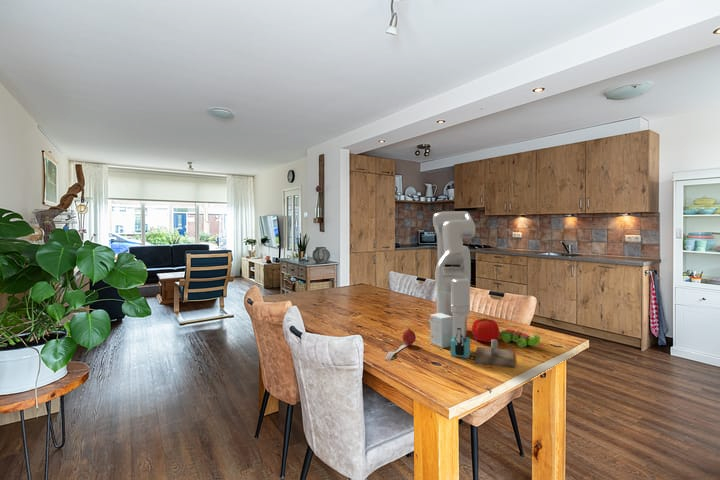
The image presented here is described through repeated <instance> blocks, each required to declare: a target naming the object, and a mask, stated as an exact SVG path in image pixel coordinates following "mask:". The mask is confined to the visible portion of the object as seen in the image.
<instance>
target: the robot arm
mask: <svg viewBox="0 0 720 480" xmlns="http://www.w3.org/2000/svg"><path fill="white" fill-rule="evenodd" d="M432 226H433V228H434V231H435V233H436V240H437V263H436V265H435V271H434V280H435V286H436V287H435V289H436V314H437V313H443V314H446V315H449V316H452V317H453V335H452V337H453V338H454V337H456V345H455V354H456V355H464V345H463V339H464V338H465V337H466V335H467V328H468V315H469V314H471V295H470V294H471V274H472V273H471V271H472V270H471V251H470V248H469V247H468V246H467V245H463V239H472V238H474V236H475V235H476V224H475V223H474V220H473V218H472V217H471V215H470V213H469V212H468V211H464V210H463V211H462V210H461V211H459V210H458V211H456V210H455V211H438V212H436V213H434V214H433V215H432ZM444 265H459V266H444ZM428 323H429V324H430V318H428ZM461 339H462V341H461Z"/></svg>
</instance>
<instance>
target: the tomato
mask: <svg viewBox="0 0 720 480" xmlns="http://www.w3.org/2000/svg"><path fill="white" fill-rule="evenodd" d="M499 330H500V328H499V325H498V322H496V321H495V320H494V319H491V318H489V319H488V317H487V318H478V319H476V320H474V321H473V323H472V325H471V333H472V335H473V337H474V338H475V340H477V341H479V342H482V343H491V340H492V339H495V340H498V338H499V337H498V336H499Z"/></svg>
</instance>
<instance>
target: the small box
mask: <svg viewBox="0 0 720 480" xmlns="http://www.w3.org/2000/svg"><path fill="white" fill-rule="evenodd" d="M429 316H430V318H429V319H430V323H429V324H430V327H429V328H430V332H429V333H430V334H429V335H430V344H432V345H435V346H436V347H439V348H441V349H444V348H448V347H451V339H452V335H453V317H452V316H449V315H446V314H443V313H437V312H436V313H432V314H430V315H429Z"/></svg>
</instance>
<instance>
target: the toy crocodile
mask: <svg viewBox="0 0 720 480" xmlns="http://www.w3.org/2000/svg"><path fill="white" fill-rule="evenodd" d="M498 338H501V339H502V341H503V343H510V342H511V341H512V342H515V343H516V344H517V346H518V347H519V348H525V347H526V346H536V345H538V344H539V343H540V341H541V338H540V336H539V334H537V333H535V334H534V337H532V336H530V335H528V334H526V333H523V332H522V331H519V330H517V331H516V330H513V329H510V328H506V329H504V330H500V329H499V336H498Z"/></svg>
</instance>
